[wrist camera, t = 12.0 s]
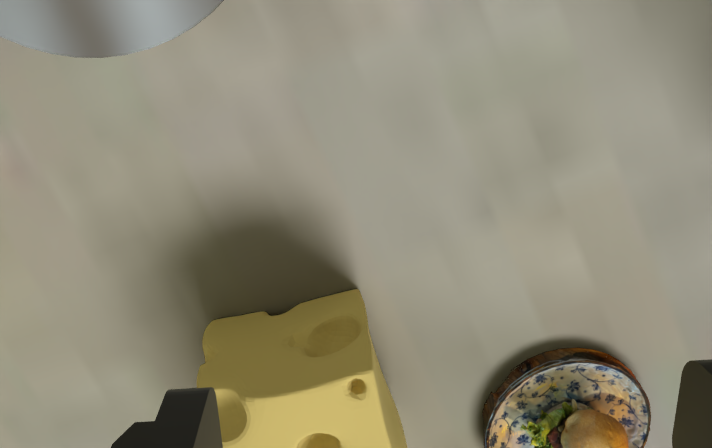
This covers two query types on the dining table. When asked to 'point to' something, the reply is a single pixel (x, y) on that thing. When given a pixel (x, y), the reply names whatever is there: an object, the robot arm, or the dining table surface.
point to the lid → (99, 24)
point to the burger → (568, 404)
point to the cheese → (300, 378)
